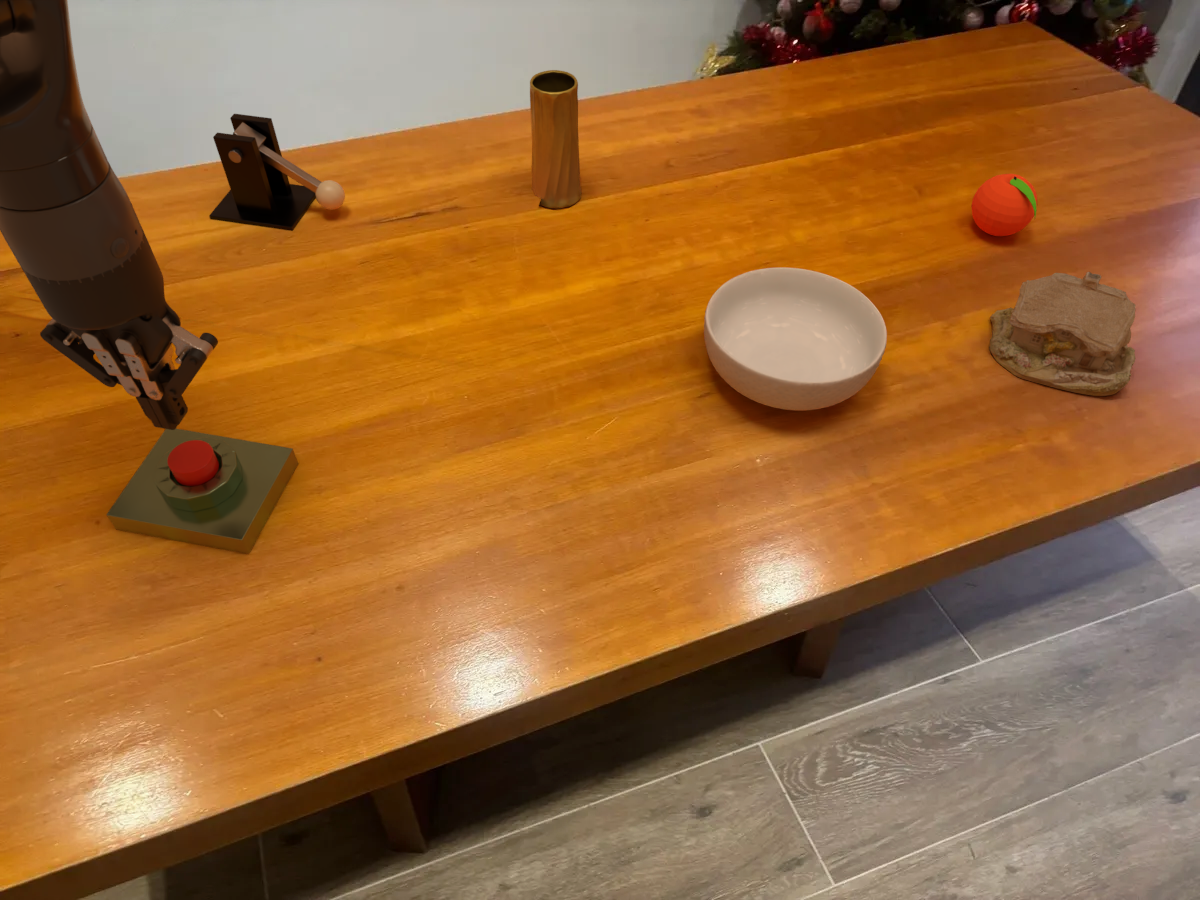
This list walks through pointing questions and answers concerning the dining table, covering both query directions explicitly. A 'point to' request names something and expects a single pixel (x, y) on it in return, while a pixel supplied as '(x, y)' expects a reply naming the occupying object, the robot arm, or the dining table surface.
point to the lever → (297, 172)
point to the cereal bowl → (793, 337)
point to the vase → (555, 138)
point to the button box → (206, 493)
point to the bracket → (257, 181)
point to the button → (193, 463)
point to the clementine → (1004, 205)
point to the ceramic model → (1067, 334)
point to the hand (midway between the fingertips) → (170, 420)
